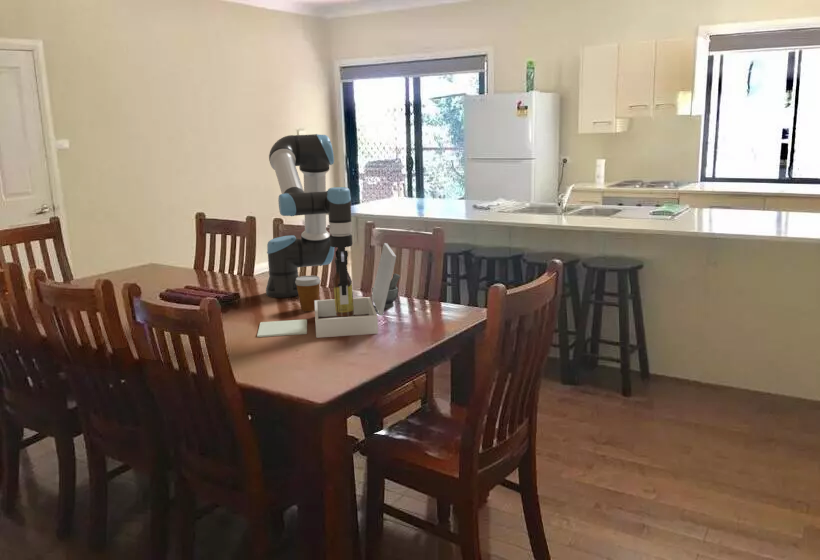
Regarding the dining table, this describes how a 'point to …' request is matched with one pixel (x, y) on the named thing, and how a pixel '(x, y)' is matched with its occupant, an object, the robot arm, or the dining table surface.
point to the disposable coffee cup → (308, 291)
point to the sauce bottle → (343, 309)
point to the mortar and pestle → (392, 292)
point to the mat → (282, 328)
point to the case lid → (383, 278)
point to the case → (345, 319)
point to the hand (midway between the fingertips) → (343, 301)
